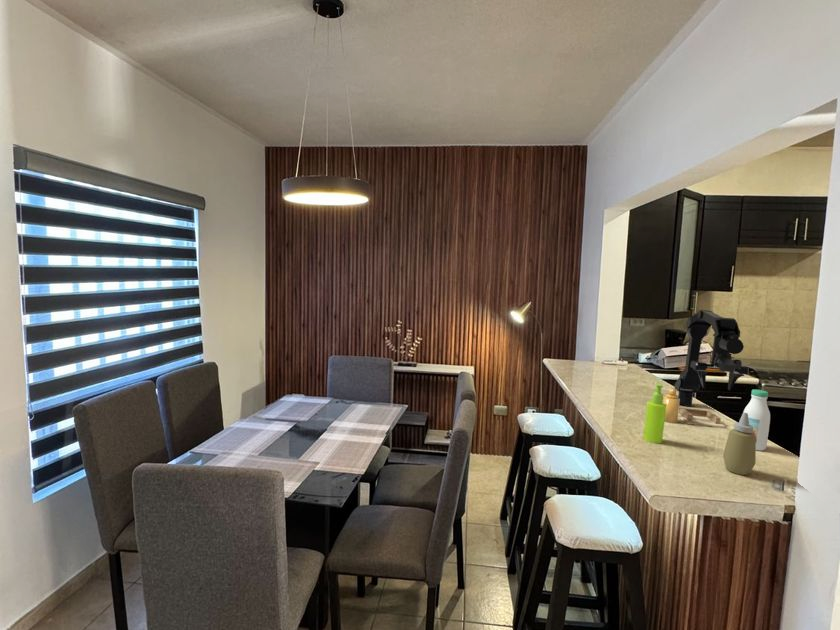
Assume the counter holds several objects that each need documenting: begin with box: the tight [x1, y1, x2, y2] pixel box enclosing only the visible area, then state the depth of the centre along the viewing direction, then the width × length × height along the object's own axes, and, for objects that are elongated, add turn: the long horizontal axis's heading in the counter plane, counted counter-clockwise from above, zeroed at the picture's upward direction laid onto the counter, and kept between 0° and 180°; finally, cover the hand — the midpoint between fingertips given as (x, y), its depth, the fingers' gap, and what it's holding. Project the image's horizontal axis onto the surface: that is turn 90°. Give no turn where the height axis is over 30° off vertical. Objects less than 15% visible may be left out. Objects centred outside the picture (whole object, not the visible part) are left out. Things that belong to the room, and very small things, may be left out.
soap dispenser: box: [642, 382, 666, 444], centre depth 160 cm, size 6×7×20 cm
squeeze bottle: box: [722, 412, 757, 476], centre depth 137 cm, size 8×8×18 cm
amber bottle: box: [663, 387, 680, 424], centre depth 183 cm, size 6×6×13 cm
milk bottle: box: [742, 388, 771, 452], centre depth 159 cm, size 8×8×20 cm
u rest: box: [678, 407, 727, 429], centre depth 186 cm, size 14×14×3 cm
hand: (716, 388), depth 180 cm, fingers open, 9 cm apart
